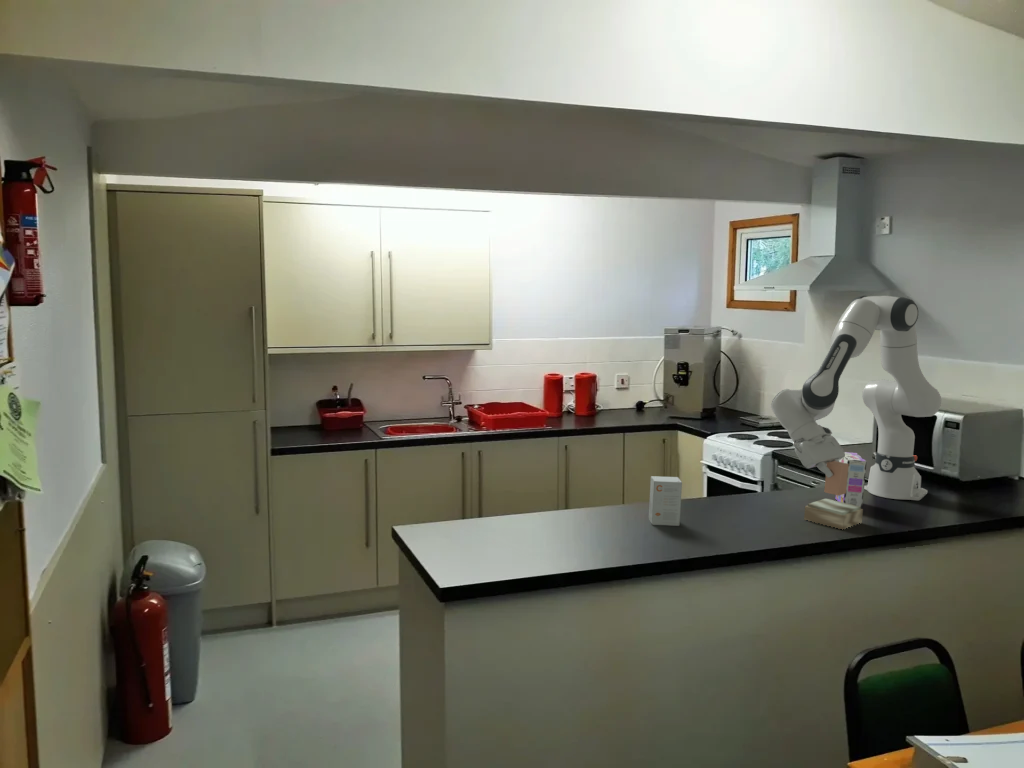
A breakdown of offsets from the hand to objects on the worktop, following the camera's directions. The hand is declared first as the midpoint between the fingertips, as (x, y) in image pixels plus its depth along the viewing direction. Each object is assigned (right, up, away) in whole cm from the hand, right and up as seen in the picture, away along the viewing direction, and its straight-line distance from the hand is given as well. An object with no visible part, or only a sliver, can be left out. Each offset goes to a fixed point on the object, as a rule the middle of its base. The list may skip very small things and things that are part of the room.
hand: (836, 475), depth 240 cm
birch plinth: (0, -14, +2) cm, 14 cm away
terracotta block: (0, -5, +1) cm, 5 cm away
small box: (-53, -13, -6) cm, 55 cm away
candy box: (+12, -12, +21) cm, 27 cm away
